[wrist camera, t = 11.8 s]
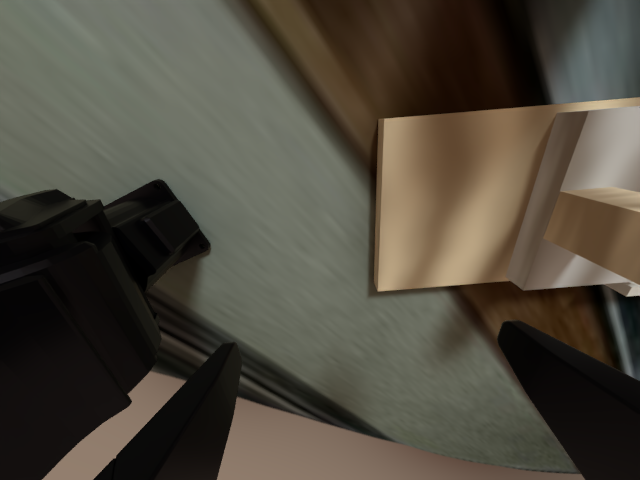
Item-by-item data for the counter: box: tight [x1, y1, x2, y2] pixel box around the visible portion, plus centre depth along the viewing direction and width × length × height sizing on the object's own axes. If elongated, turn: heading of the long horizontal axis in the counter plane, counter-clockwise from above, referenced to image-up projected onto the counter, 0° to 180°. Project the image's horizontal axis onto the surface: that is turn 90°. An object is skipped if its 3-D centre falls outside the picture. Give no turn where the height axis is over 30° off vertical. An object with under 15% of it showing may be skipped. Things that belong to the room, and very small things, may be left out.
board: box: [374, 97, 640, 291], centre depth 19 cm, size 21×14×2 cm, turn 94°
